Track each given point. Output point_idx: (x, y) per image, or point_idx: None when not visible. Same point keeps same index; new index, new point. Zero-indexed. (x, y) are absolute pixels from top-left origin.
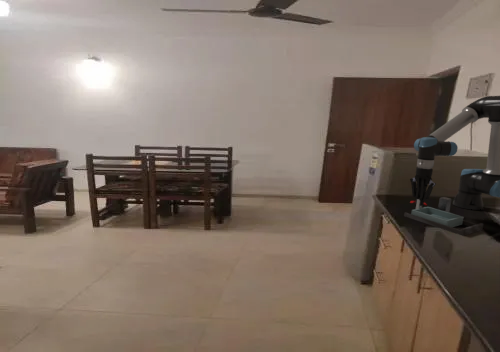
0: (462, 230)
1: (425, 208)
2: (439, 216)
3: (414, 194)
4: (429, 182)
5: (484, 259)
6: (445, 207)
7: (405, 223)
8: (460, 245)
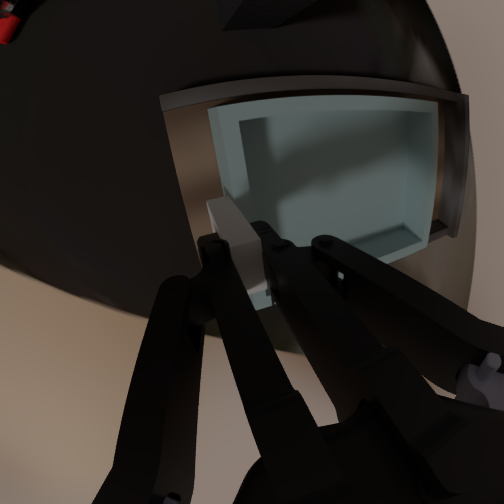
0: (451, 235)
1: (245, 168)
2: (317, 114)
3: (203, 337)
4: (474, 410)
5: (464, 275)
6: (305, 5)
7: (275, 326)
8: (438, 271)
